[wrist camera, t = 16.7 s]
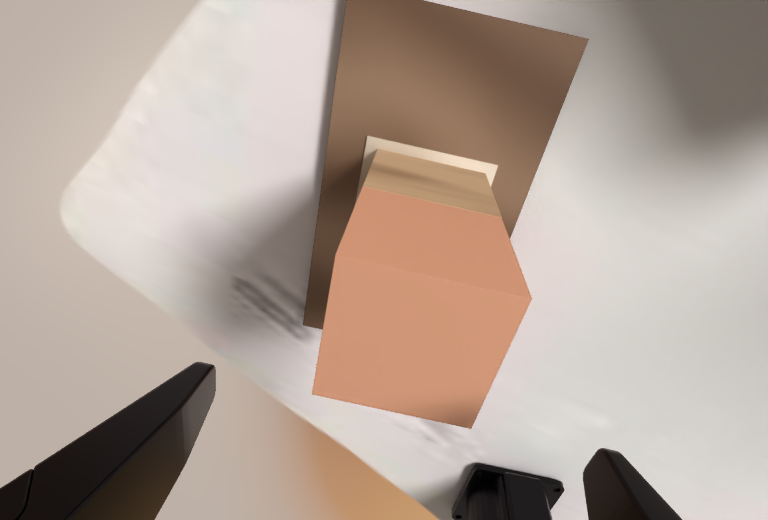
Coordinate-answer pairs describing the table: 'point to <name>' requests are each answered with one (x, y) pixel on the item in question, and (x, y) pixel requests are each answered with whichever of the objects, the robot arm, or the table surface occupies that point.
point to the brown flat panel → (436, 107)
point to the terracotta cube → (419, 308)
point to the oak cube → (432, 182)
